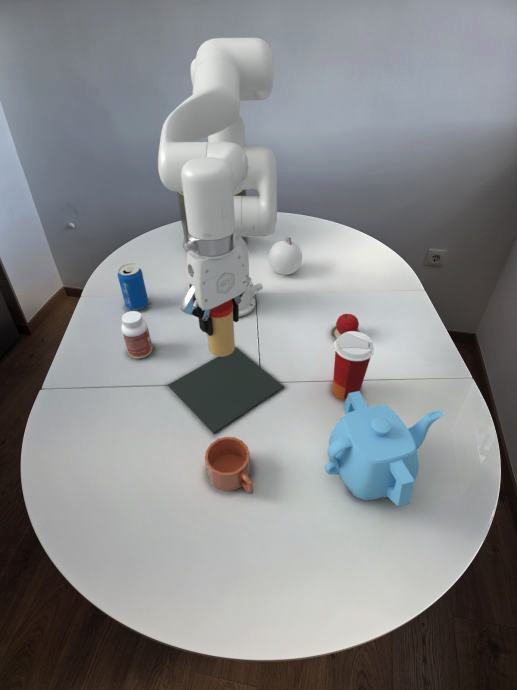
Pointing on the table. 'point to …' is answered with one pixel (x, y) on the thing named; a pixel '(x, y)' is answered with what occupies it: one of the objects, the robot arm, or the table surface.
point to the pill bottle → (136, 335)
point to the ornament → (285, 257)
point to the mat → (225, 389)
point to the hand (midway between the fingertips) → (219, 324)
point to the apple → (344, 325)
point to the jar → (222, 330)
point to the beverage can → (132, 286)
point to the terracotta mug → (229, 464)
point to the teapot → (376, 450)
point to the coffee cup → (350, 362)
